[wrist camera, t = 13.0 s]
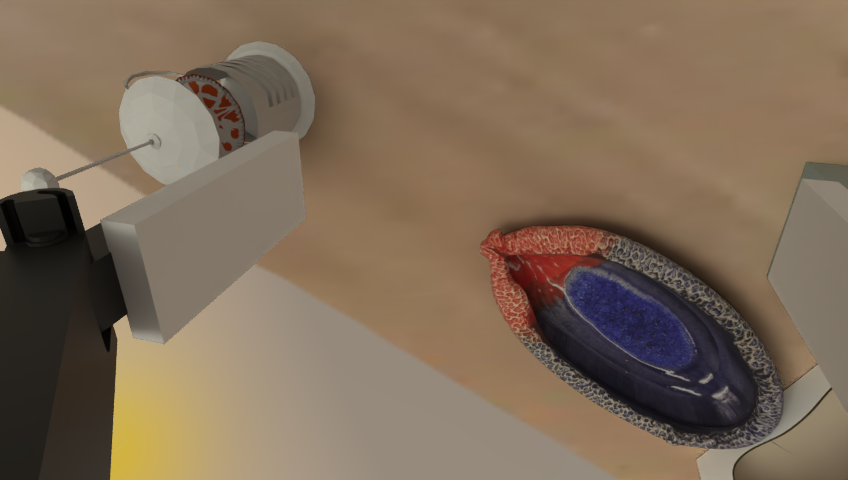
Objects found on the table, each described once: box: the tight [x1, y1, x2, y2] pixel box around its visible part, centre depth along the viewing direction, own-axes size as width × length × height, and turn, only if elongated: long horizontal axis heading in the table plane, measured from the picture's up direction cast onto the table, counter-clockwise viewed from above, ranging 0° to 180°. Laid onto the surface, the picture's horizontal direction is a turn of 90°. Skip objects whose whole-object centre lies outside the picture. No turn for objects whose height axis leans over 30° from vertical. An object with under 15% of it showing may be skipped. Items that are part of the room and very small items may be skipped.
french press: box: [20, 41, 315, 192], centre depth 40 cm, size 10×12×25 cm
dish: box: [480, 226, 784, 449], centre depth 48 cm, size 16×31×5 cm, turn 55°
